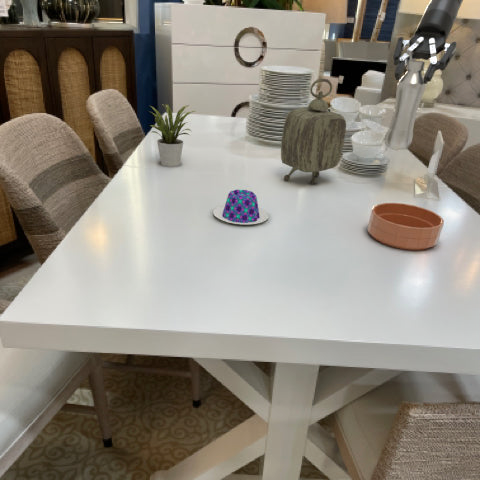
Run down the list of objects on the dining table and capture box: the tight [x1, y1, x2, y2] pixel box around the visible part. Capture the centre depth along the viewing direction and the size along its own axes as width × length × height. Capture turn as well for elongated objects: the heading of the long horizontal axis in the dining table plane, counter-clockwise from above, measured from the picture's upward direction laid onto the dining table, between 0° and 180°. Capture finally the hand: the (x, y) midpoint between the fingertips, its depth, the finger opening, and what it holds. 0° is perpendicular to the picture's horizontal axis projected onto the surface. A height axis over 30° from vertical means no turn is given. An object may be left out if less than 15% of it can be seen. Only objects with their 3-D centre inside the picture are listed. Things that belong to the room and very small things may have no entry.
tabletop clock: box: [280, 78, 347, 185], centre depth 120 cm, size 14×9×25 cm, turn 124°
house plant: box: [148, 102, 195, 168], centre depth 128 cm, size 14×14×16 cm
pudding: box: [212, 189, 269, 226], centre depth 101 cm, size 12×12×5 cm
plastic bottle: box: [384, 60, 426, 151], centre depth 116 cm, size 6×7×20 cm
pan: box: [367, 202, 445, 251], centre depth 98 cm, size 14×14×5 cm
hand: (410, 79), depth 111 cm, fingers closed on plastic bottle, 6 cm apart
